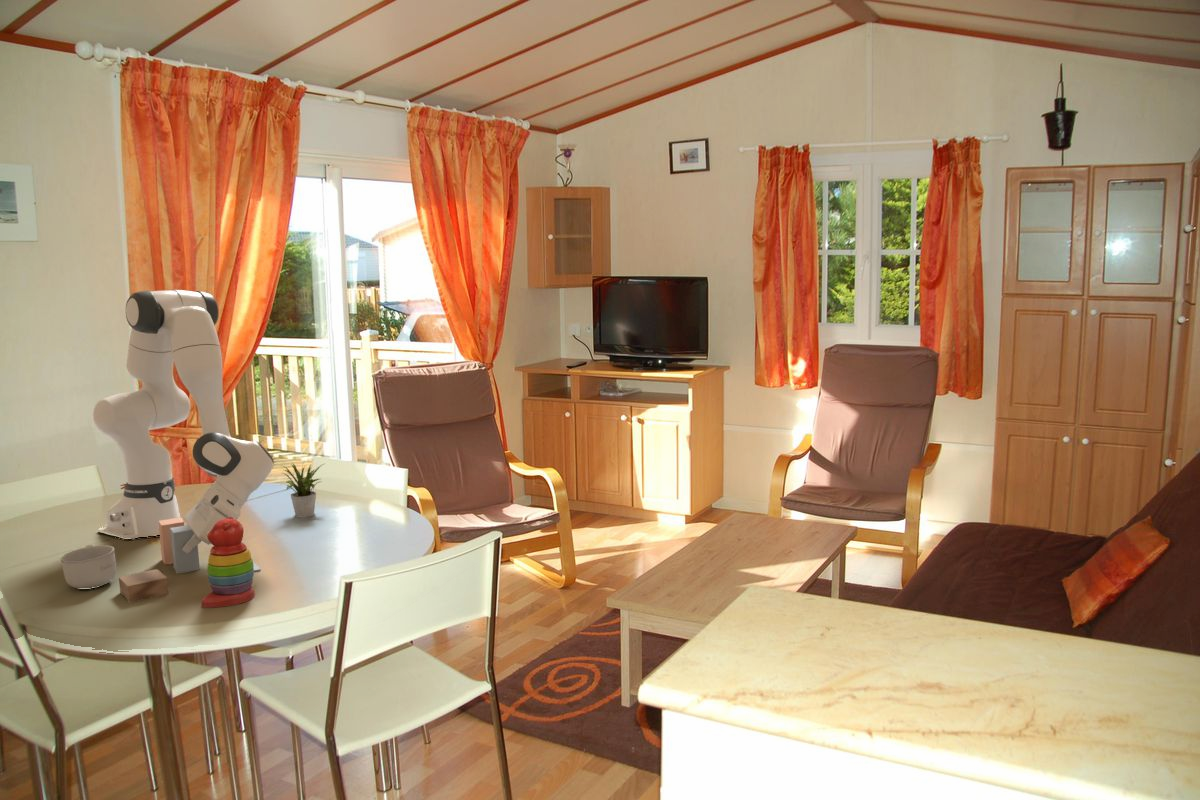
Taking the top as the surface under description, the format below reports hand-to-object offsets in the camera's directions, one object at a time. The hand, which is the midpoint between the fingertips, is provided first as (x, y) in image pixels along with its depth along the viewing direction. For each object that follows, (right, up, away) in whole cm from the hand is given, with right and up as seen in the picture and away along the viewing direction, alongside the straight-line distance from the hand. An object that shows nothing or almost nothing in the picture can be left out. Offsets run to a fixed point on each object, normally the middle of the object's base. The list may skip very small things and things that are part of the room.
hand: (181, 547), depth 222 cm
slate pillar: (+1, -5, +1) cm, 5 cm away
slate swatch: (+15, -5, 0) cm, 16 cm away
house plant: (+13, +2, +47) cm, 49 cm away
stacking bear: (+19, -8, -19) cm, 28 cm away
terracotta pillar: (-5, -4, +8) cm, 10 cm away
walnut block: (-2, -8, -15) cm, 17 cm away
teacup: (-17, -7, -8) cm, 20 cm away
